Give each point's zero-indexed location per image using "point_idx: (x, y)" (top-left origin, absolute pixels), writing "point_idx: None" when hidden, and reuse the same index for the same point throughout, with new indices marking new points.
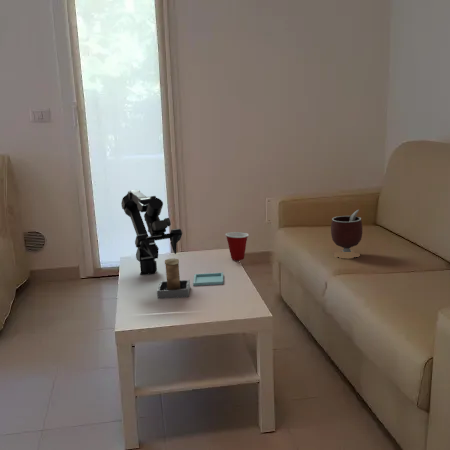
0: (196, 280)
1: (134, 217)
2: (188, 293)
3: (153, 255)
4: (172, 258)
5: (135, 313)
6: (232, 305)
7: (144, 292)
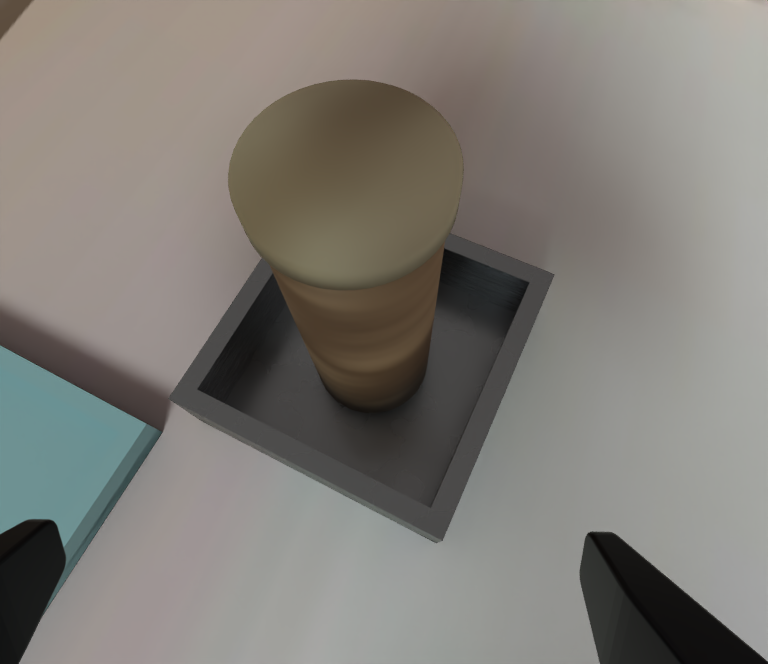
0: None
1: None
2: None
3: (616, 544)
4: (284, 256)
5: (731, 165)
6: (176, 15)
7: None
